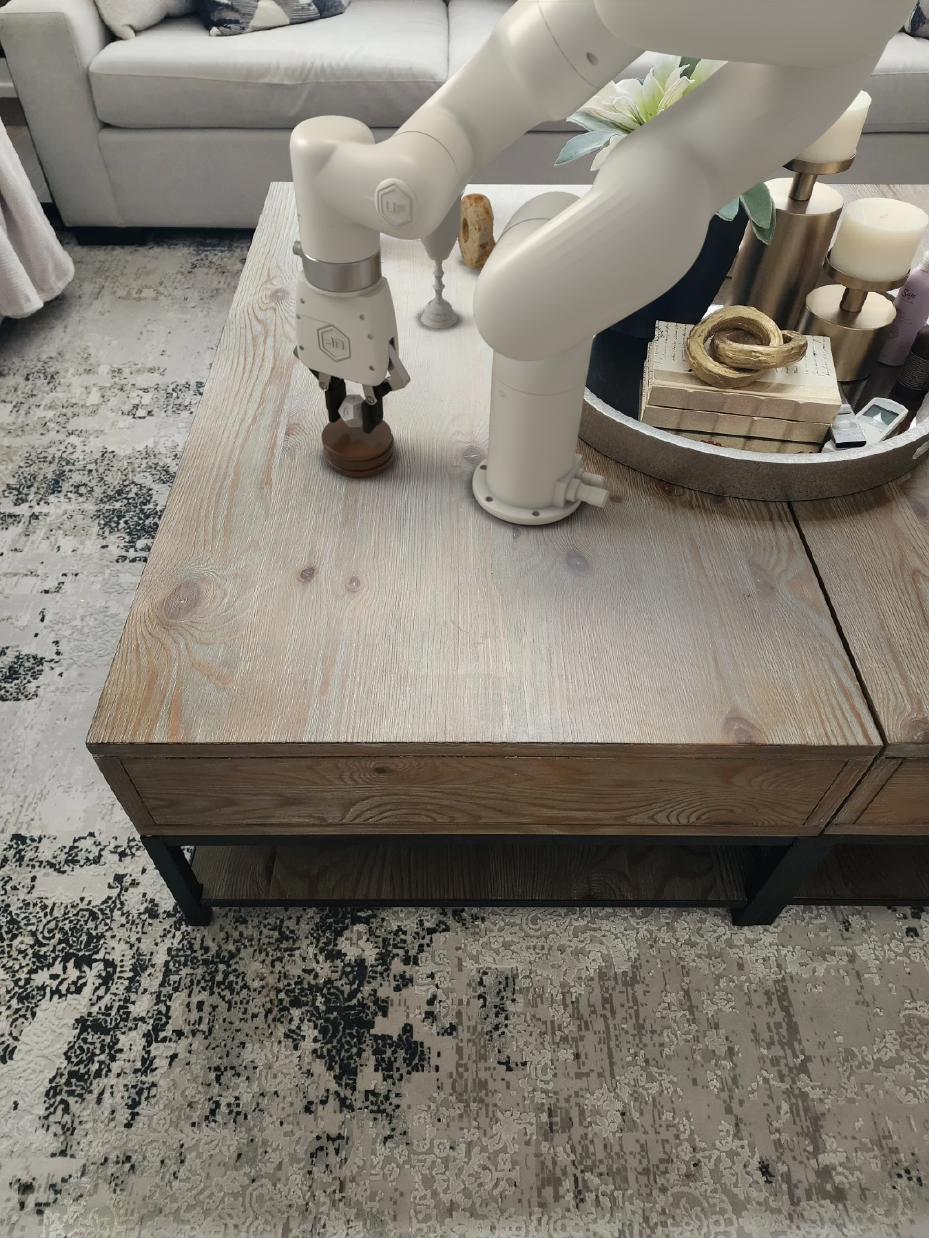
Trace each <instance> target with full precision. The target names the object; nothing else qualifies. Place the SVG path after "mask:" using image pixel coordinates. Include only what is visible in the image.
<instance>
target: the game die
mask: <svg viewBox="0 0 929 1238" xmlns="http://www.w3.org/2000/svg"><path fill="white" fill-rule="evenodd" d="M364 400H365V398H364V397H362V395H361V394H358V393H357V394H352V393H351V394H348V393H347V397H346V398H345V400H344V401H343V403H342V405H341V407H340V408H339V410H338V412H339V414H340V415H341V417H342V419H343V420H344V422H345V423H346V424H347V425H348V426H349V427H361V426H362V424H363V422H362V409H361V404H362V402H363V401H364Z"/></svg>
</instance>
